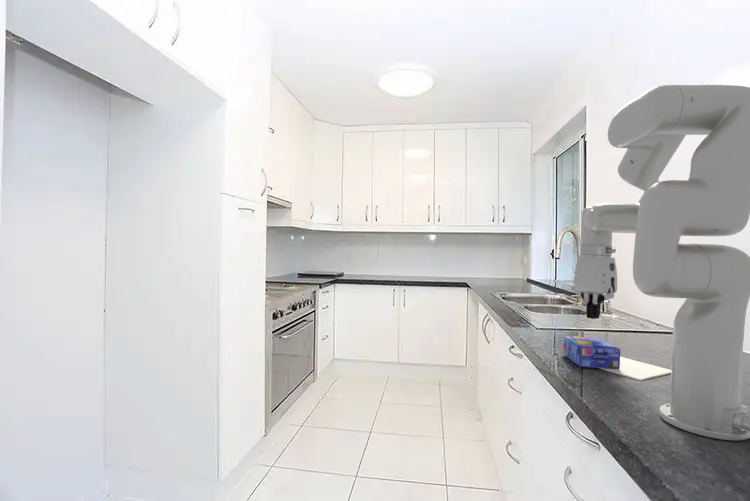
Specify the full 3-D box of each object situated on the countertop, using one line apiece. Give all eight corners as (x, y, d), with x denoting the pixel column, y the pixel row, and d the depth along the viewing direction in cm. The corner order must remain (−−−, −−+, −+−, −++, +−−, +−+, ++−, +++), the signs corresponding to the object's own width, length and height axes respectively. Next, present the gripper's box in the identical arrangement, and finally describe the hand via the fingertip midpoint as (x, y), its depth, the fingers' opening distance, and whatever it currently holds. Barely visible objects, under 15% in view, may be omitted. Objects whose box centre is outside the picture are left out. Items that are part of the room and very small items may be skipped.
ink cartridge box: (600, 336, 112) (626, 351, 98) (599, 355, 113) (625, 374, 98) (563, 334, 113) (583, 349, 99) (562, 354, 114) (582, 371, 99)
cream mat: (674, 372, 101) (674, 371, 101) (639, 381, 94) (640, 379, 94) (611, 355, 115) (611, 354, 115) (577, 361, 108) (577, 360, 108)
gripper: (631, 252, 107) (628, 322, 107) (579, 250, 120) (577, 312, 120) (614, 252, 103) (611, 324, 103) (562, 250, 116) (560, 314, 117)
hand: (592, 317), depth 112 cm, fingers closed
